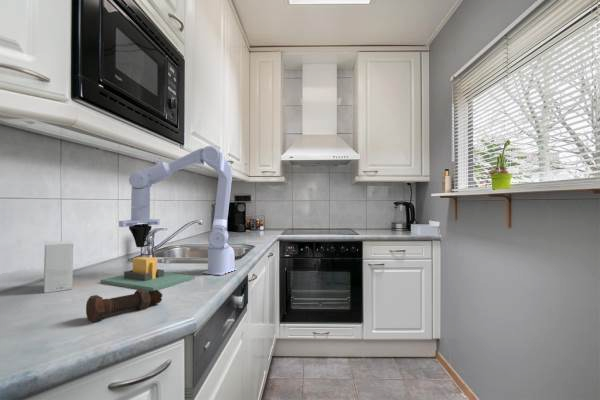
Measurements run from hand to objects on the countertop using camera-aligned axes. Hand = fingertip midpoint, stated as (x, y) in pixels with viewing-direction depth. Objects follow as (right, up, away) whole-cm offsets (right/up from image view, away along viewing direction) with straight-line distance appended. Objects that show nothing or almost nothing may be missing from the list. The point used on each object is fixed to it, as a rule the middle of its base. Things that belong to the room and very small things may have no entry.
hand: (140, 247), depth 108 cm
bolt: (+16, -10, -37) cm, 41 cm away
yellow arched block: (+5, -8, -8) cm, 13 cm away
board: (+7, -9, -9) cm, 15 cm away
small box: (-14, -9, -18) cm, 25 cm away
